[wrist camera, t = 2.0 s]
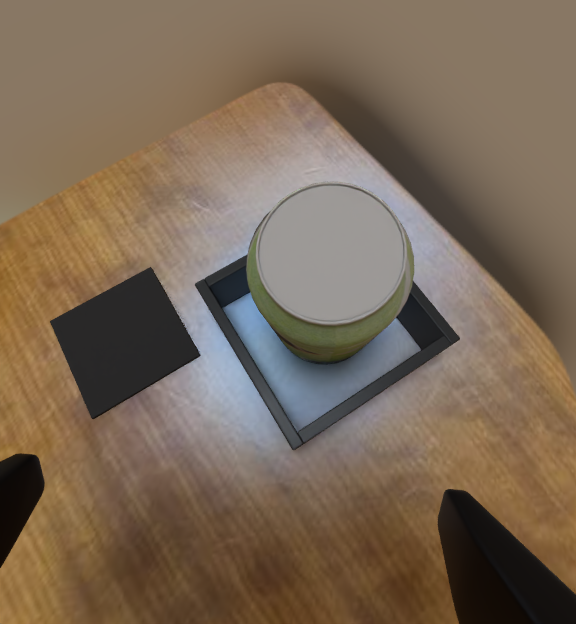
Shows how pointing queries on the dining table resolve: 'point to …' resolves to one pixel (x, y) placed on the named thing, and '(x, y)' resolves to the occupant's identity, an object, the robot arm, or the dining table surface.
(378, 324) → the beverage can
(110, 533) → the dining table surface
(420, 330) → the square frame
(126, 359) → the coaster
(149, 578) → the dining table surface
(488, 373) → the dining table surface
